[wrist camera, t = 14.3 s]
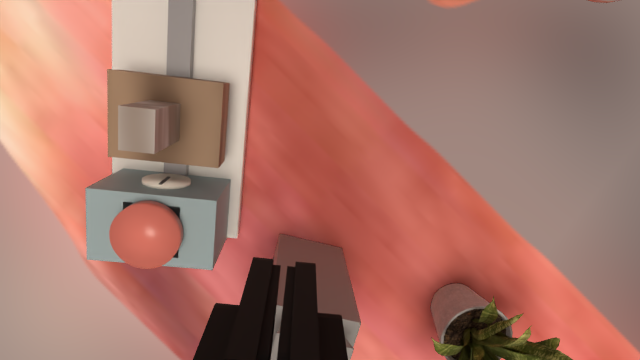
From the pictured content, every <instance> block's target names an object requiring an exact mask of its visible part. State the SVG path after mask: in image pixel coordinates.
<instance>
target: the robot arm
mask: <svg viewBox="0 0 640 360" xmlns="http://www.w3.org/2000/svg"><path fill="white" fill-rule="evenodd" d="M588 1H592V2H604V3H608V2H614V1H619V0H588ZM273 262H274V259H266V258H256V257H253V260H252V264H251V267H250V271H249V274H248V278H247V281H246V285H245V288H244V291H243V295H242V298H241V302H240V305H230V304H220V303H216V304H215V306H214V308H213V310H212V313H211V315H210V318H209V320H208V323H207V325H206V328H205V330H204V333H203V336H202V338H201V341H200V343H199V346H198V348H197V351H196V353H195V356H194V358H193V360H271V353H272V343H273V334H274V325H275V316H276V306H277V297H278V288H279V279H280V269H281V265H273ZM277 360H348V355H347V348H346V341H345V334H344V327H343V320H342V315H340V314H329V313H318V307H317V283H316V263H307V262H297V261H296V263H295V267H293V266H287V273H286V282H285V291H284V300H283V309H282V318H281V326H280V335H279V344H278V353H277Z"/></svg>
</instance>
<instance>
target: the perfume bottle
mask: <svg viewBox="0 0 640 360" xmlns="http://www.w3.org/2000/svg"><path fill="white" fill-rule="evenodd" d="M273 259H274V262H273V265H281V269H280V279H279V288H278V297H277V306H276V316H275V325H274V334H273V343H272V353H271V360H277V353H278V344H279V335H280V326H281V318H282V309H283V300H284V291H285V282H286V273H287V266H293V267H295V263H296V261H297V262H307V263H316V283H317V307H318V313H329V314H340V315H342V320H343V327H344V334H345V341H346V348H347V355H348V360H350V359H351V356H352V353H353V350H354V348H353V346H354V343H355V340H356V337H357V334H358V331H359V328H360V325H361V321H360V317H359V313H358V309H357V305H356V301H355V297H354V293H353V289H352V285H351V281H350V277H349V274H348V270H347V266H346V262H345V258H344V254H343V250H342V248H340V247H336V246H332V245H327V244H323V243H319V242H314V241H310V240H306V239H301V238H297V237H293V236H288V235H284V234H279V238H278V242H277V245H276V249H275V253H274V257H273Z"/></svg>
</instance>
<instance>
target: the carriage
mask: <svg viewBox="0 0 640 360" xmlns="http://www.w3.org/2000/svg"><path fill="white" fill-rule="evenodd" d="M107 74H108V157H116V158H125V159H135V160H145V161H154V162H164V163H173V164H183V165H192V166H202V167H212V168H219V167H220V166H221V165H222V163H223V162H224V161H225V147H226V132H227V116H228V101H229V85H230V83H227V82H219V81H211V80H203V79H194V78H186V77H178V76H170V75H161V74H153V73H145V72H137V71H128V70H112V69H107Z"/></svg>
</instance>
